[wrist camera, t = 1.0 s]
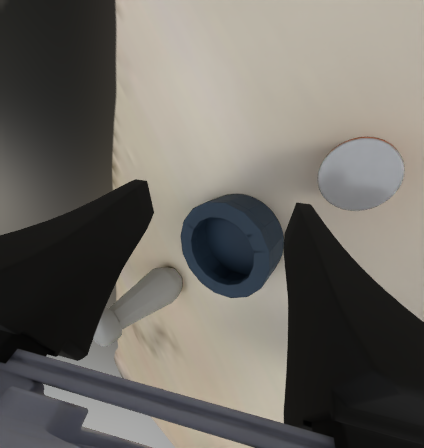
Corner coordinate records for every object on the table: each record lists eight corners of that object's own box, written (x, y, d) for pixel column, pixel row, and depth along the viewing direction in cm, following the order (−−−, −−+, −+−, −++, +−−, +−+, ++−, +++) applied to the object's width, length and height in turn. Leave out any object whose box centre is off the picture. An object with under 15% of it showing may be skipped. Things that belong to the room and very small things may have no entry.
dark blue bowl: (301, 219, 20) (288, 235, 17) (262, 292, 25) (246, 316, 22) (216, 179, 24) (191, 185, 21) (197, 249, 29) (174, 263, 26)
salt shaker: (157, 259, 35) (74, 306, 25) (182, 263, 32) (98, 318, 22) (164, 290, 36) (89, 346, 26) (189, 297, 33) (114, 364, 23)
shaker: (404, 149, 15) (430, 150, 9) (370, 199, 17) (375, 225, 11) (345, 133, 17) (338, 126, 11) (320, 180, 18) (303, 195, 13)
